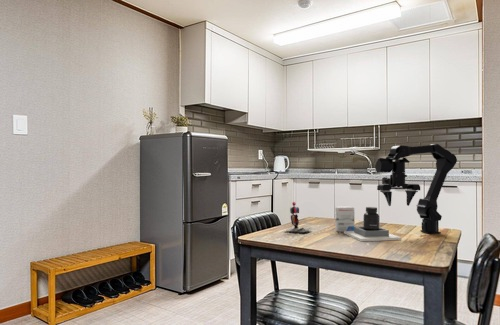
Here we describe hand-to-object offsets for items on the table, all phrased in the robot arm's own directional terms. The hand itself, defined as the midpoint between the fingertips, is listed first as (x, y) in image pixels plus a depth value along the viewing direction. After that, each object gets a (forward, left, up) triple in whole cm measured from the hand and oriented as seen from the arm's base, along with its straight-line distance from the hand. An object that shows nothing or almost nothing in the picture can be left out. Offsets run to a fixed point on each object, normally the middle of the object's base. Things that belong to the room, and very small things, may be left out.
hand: (398, 205), depth 165 cm
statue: (+45, -13, -13) cm, 49 cm away
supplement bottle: (+16, +4, -12) cm, 20 cm away
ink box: (+22, -11, -13) cm, 28 cm away
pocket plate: (+16, +4, -13) cm, 21 cm away
